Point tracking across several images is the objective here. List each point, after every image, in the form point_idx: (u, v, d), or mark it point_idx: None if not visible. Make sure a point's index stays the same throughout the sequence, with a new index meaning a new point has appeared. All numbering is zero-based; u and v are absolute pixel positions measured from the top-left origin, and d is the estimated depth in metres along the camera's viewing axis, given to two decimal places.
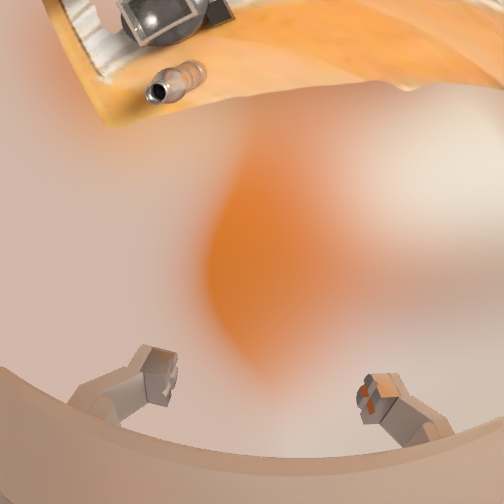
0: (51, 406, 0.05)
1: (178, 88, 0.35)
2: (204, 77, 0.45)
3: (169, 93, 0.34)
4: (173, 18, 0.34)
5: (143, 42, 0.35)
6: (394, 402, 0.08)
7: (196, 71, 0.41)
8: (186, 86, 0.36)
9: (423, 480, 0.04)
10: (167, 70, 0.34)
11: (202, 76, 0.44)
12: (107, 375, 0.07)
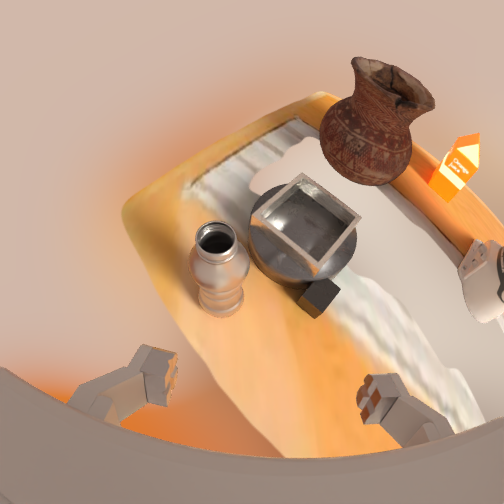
0: (50, 406, 0.05)
1: (223, 276, 0.26)
2: (224, 314, 0.37)
3: (219, 260, 0.24)
4: None
5: (258, 217, 0.40)
6: (394, 402, 0.08)
7: (235, 299, 0.35)
8: (226, 288, 0.27)
9: (423, 480, 0.04)
10: (245, 251, 0.29)
11: (226, 311, 0.37)
12: (107, 375, 0.07)
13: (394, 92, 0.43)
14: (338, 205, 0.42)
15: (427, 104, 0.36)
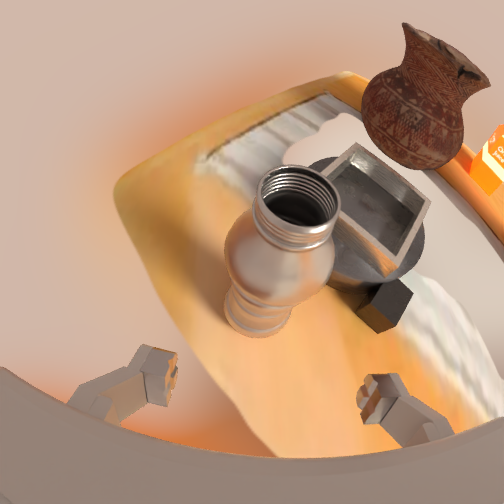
0: (50, 406, 0.05)
1: (301, 277, 0.13)
2: (265, 335, 0.25)
3: (306, 244, 0.11)
4: None
5: None
6: (394, 402, 0.08)
7: (288, 313, 0.22)
8: (300, 299, 0.15)
9: (423, 480, 0.04)
10: None
11: (270, 330, 0.24)
12: (107, 375, 0.07)
13: None
14: (403, 185, 0.30)
15: None
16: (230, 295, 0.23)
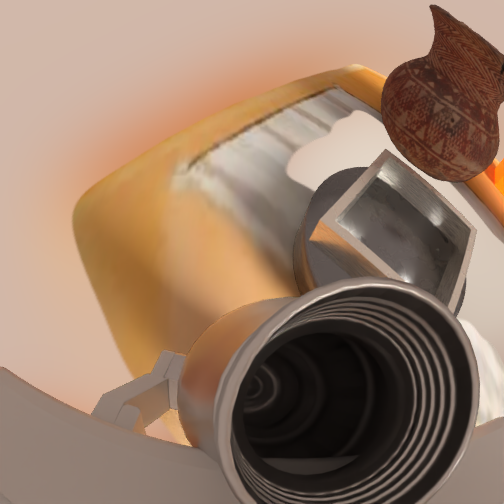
0: (50, 406, 0.05)
1: None
2: None
3: None
4: None
5: (333, 225, 0.18)
6: None
7: None
8: None
9: None
10: None
11: None
12: (131, 383, 0.07)
13: None
14: (445, 208, 0.21)
15: None
16: None
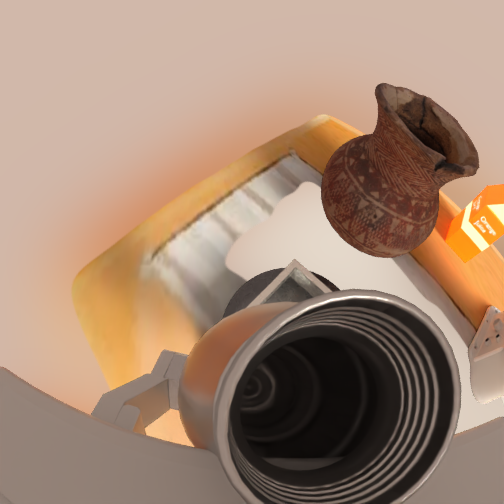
0: (51, 406, 0.05)
1: None
2: None
3: None
4: None
5: None
6: None
7: None
8: None
9: None
10: None
11: None
12: (131, 383, 0.07)
13: (423, 133, 0.33)
14: None
15: (470, 161, 0.26)
16: None
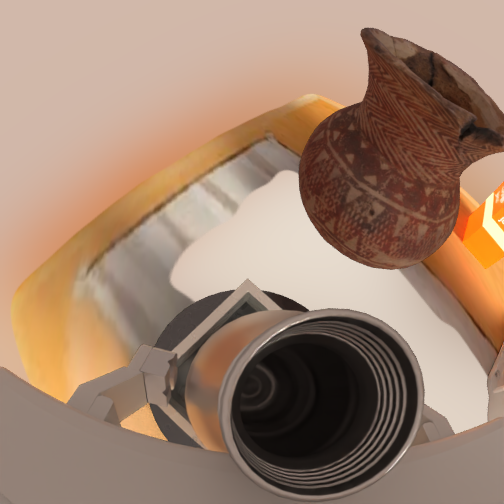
0: (50, 406, 0.05)
1: None
2: None
3: None
4: None
5: None
6: None
7: None
8: None
9: (423, 480, 0.04)
10: None
11: None
12: (107, 375, 0.07)
13: None
14: None
15: (503, 132, 0.14)
16: None
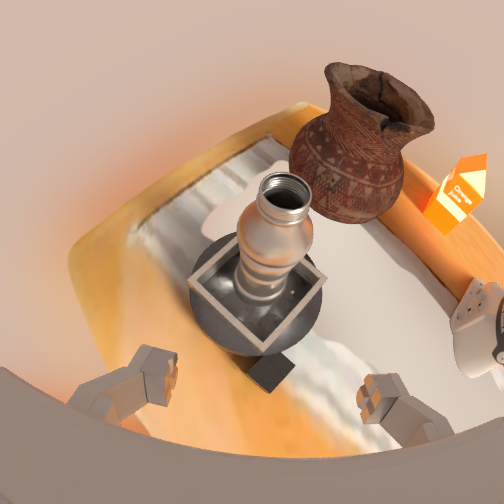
0: (50, 406, 0.05)
1: (288, 245, 0.21)
2: (266, 302, 0.32)
3: (290, 220, 0.18)
4: (242, 313, 0.34)
5: (194, 283, 0.33)
6: (394, 402, 0.08)
7: (283, 283, 0.29)
8: (289, 261, 0.22)
9: (423, 480, 0.04)
10: None
11: (269, 297, 0.31)
12: (107, 375, 0.07)
13: (383, 106, 0.36)
14: (298, 262, 0.35)
15: (425, 124, 0.29)
16: (238, 269, 0.30)
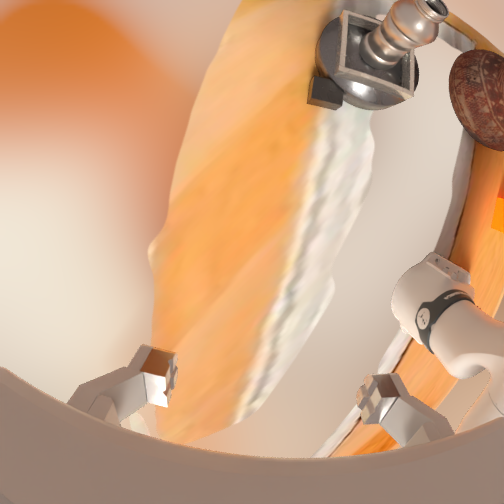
0: (50, 406, 0.05)
1: (413, 23, 0.17)
2: (370, 57, 0.29)
3: (424, 11, 0.14)
4: (350, 53, 0.32)
5: (345, 14, 0.27)
6: (394, 402, 0.08)
7: (390, 56, 0.26)
8: (405, 30, 0.18)
9: (423, 480, 0.04)
10: (436, 35, 0.17)
11: (375, 56, 0.28)
12: (107, 375, 0.07)
13: None
14: (408, 73, 0.30)
15: None
16: (377, 27, 0.24)
